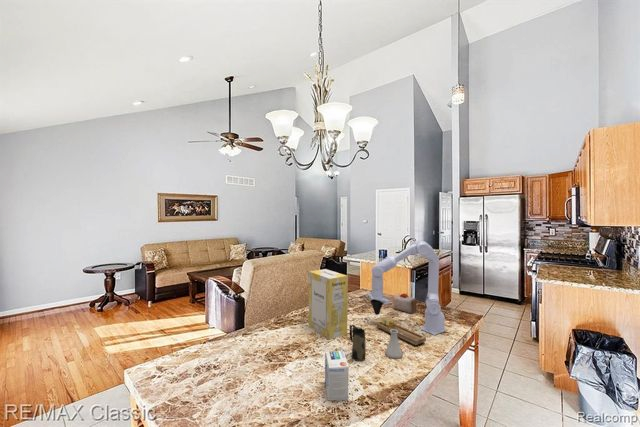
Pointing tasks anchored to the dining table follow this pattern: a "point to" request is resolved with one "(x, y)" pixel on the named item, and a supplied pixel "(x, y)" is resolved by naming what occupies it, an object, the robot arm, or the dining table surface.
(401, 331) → the brown rectangular tray
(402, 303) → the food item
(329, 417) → the dining table surface
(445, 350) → the dining table surface
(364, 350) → the mug
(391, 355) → the flask
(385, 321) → the yellow block
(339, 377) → the light bulb box
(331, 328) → the pasta box
